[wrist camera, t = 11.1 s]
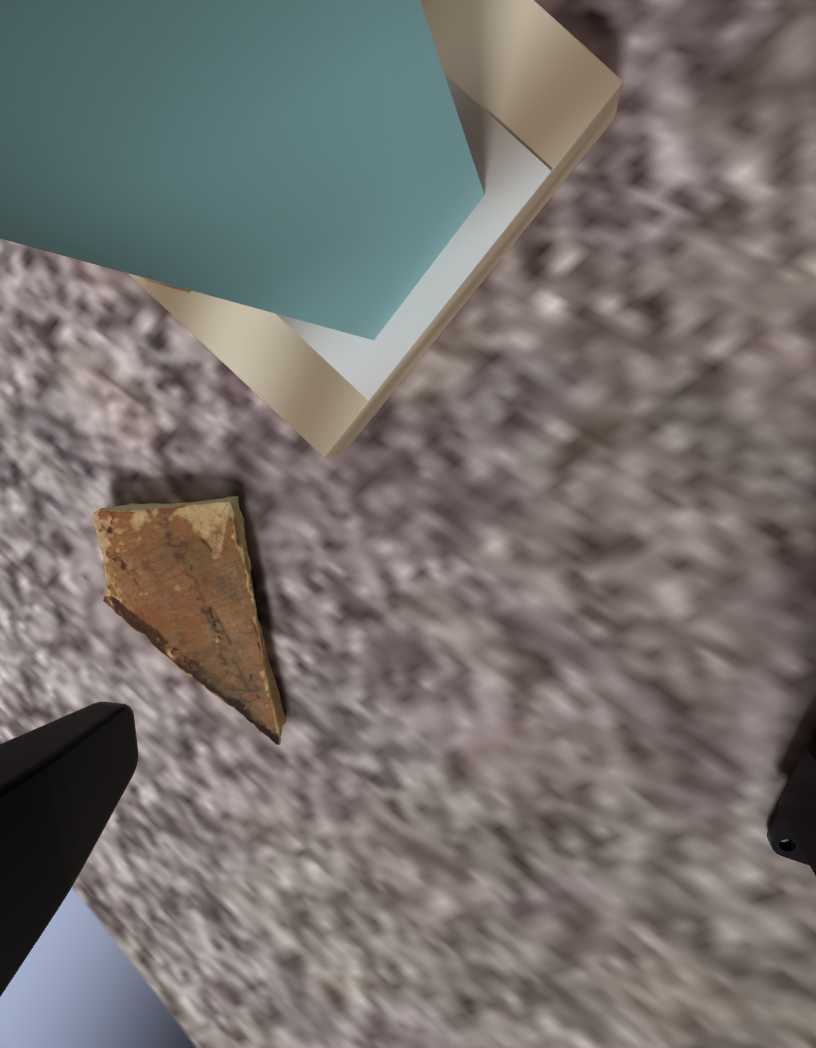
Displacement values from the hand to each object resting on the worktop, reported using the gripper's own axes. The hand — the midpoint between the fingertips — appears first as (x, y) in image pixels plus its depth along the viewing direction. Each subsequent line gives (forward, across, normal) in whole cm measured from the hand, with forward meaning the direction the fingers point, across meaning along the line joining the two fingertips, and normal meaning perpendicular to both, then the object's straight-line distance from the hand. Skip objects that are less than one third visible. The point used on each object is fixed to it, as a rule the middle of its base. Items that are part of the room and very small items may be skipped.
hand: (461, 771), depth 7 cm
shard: (+15, +10, +5) cm, 19 cm away
